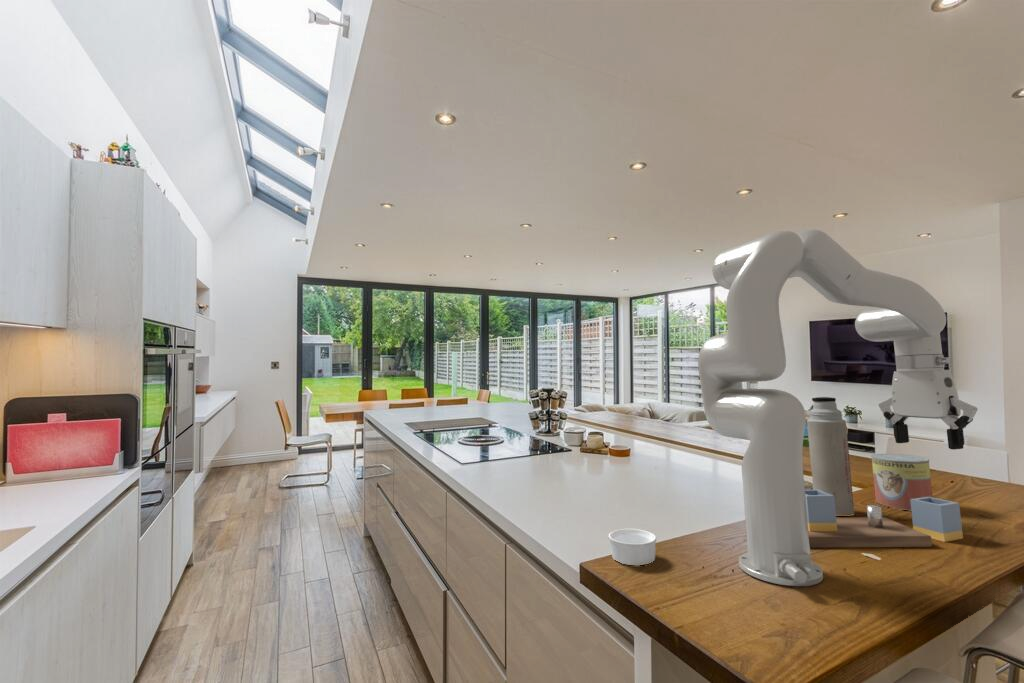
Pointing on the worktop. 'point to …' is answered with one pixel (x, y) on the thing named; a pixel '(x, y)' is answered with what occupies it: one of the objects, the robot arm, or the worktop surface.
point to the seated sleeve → (820, 511)
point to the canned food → (900, 479)
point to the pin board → (869, 533)
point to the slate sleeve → (937, 518)
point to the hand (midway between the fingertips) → (928, 445)
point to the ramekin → (632, 546)
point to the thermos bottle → (830, 453)
